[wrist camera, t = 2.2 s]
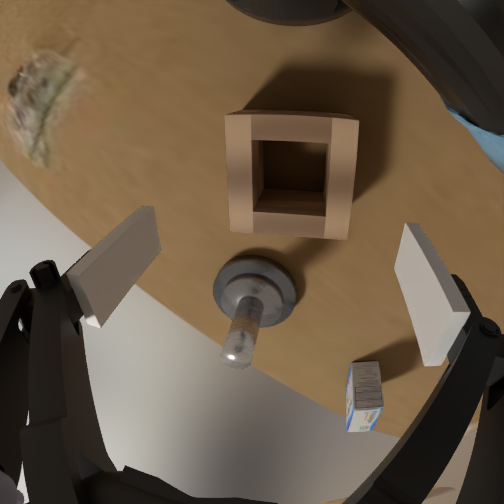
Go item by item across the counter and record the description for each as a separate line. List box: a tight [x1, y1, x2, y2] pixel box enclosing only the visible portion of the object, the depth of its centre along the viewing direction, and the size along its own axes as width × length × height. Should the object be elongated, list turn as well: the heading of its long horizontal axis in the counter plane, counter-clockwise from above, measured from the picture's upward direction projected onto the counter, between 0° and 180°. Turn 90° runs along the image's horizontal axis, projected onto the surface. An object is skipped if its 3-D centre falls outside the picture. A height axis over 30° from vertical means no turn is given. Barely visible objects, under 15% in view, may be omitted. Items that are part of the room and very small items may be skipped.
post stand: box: [213, 255, 296, 369], centre depth 32 cm, size 10×10×11 cm
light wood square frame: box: [225, 110, 359, 240], centre depth 25 cm, size 10×10×6 cm
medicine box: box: [346, 361, 384, 432], centre depth 38 cm, size 8×4×9 cm, turn 8°
